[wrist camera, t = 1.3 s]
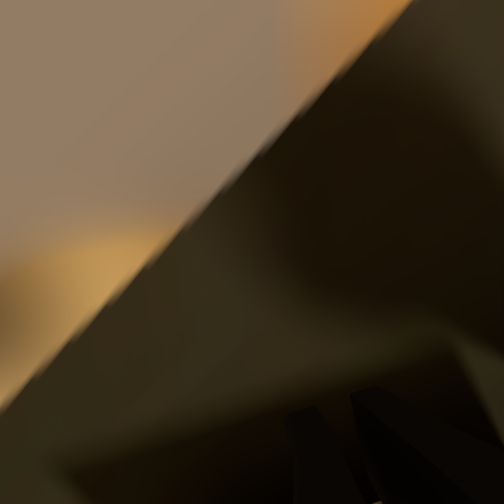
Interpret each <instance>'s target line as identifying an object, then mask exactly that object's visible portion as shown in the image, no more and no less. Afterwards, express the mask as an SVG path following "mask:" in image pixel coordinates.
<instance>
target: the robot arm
mask: <svg viewBox="0 0 504 504" xmlns="http://www.w3.org/2000/svg"><path fill="white" fill-rule="evenodd" d="M350 397H351V402H352V407H353V412H354V417H355V422H356V427H357V432H358V437H359V441H360V446H361V451H362V456H363V461H364V466H365V471H366V473H367V475H368V477H369V479H370V481H371V483H372V485H373V487H374V489H375V491H376V493H377V495H378V497H379V499H380V500H381V502H382V504H504V450H503V449H500V448H498V447H496V446H494V445H491V444H489V443H487V442H484V441H482V440H480V439H478V438H476V437H474V436H472V435H469V434H467V433H465V432H463V431H461V430H459V429H457V428H455V427H453V426H451V425H449V424H447V423H445V422H443V421H441V420H439V419H437V418H435V417H433V416H431V415H429V414H428V413H426V412H424V411H422V410H420V409H418V408H416V407H414V406H413V405H411V404H409V403H407V402H405V401H403V400H401V399H400V398H398V397H396V396H394V395H392V394H390V393H389V392H387V391H385V390H383V389H381V388H379V387H377V386H373V387H370V388H367V389H364V390H361V391H358V392H355V393H352V394H350ZM284 423H285V427H286V431H287V435H288V439H289V443H290V447H291V453H292V466H293V504H366V502H365V500H364V498H363V497H362V495H361V492H360V490H359V488H358V486H357V484H356V482H355V480H354V477H353V475H352V473H351V471H350V469H349V467H348V464H347V462H346V460H345V458H344V456H343V454H342V452H341V449H340V447H339V445H338V443H337V441H336V439H335V437H334V434H333V432H332V430H331V428H330V426H329V424H328V422H327V421H326V420H325V418H324V417H323V416H322V414H321V413H320V412H319V411H318V410H317V408H316V407H315V406H312V407H309V408H306V409H302V410H299V411H296V412H293V413H290V414H288V415H287V416H286V418H285V419H284Z"/></svg>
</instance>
